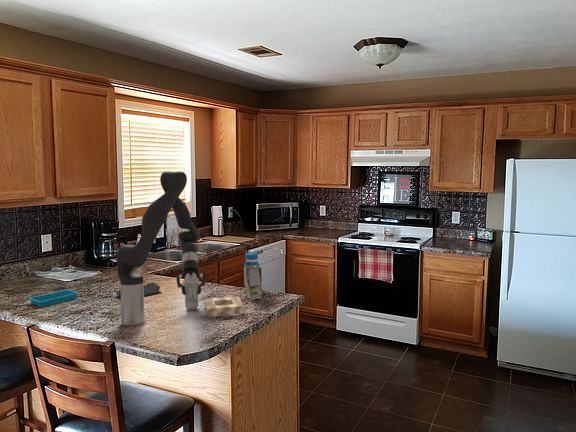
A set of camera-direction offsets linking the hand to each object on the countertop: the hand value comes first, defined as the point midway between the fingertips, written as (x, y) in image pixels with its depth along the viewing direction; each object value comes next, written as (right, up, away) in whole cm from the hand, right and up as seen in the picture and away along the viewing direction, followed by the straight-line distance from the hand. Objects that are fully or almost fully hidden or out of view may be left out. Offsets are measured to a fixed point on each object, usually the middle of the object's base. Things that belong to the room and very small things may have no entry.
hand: (191, 293), depth 207 cm
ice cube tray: (-72, -7, +18) cm, 75 cm away
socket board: (+15, -8, 0) cm, 17 cm away
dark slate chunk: (-34, -6, +30) cm, 46 cm away
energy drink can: (0, -7, +2) cm, 8 cm away
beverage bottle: (+25, -4, +37) cm, 45 cm away
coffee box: (+27, -6, +22) cm, 35 cm away
